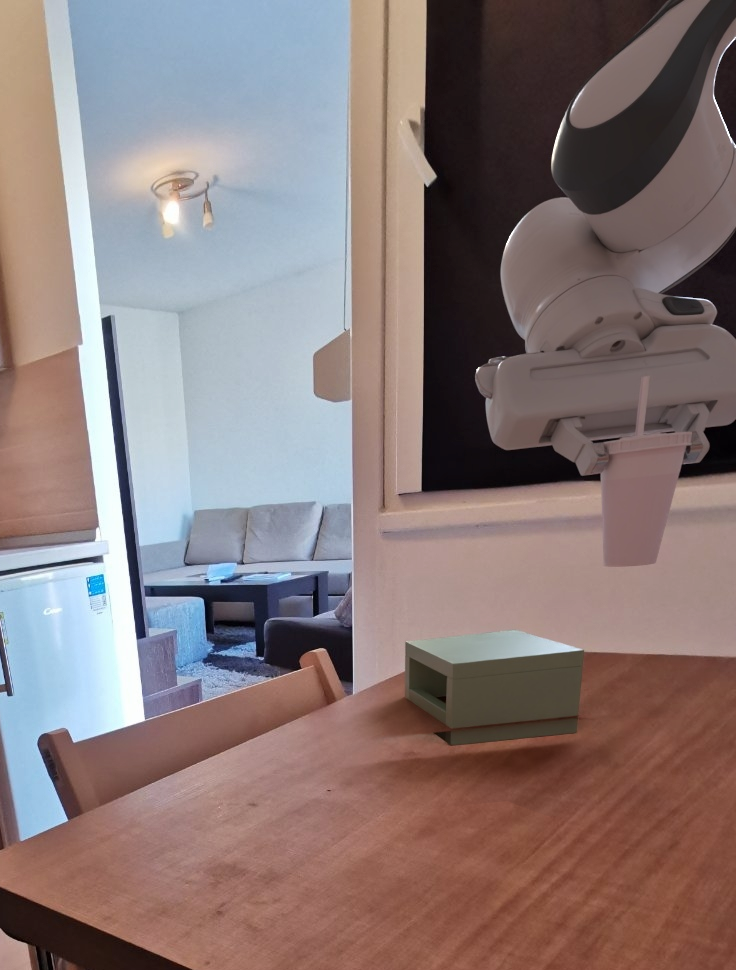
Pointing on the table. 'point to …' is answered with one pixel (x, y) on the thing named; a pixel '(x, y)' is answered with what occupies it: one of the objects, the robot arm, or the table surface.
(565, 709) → the shelf
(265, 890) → the table surface
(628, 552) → the smoothie
